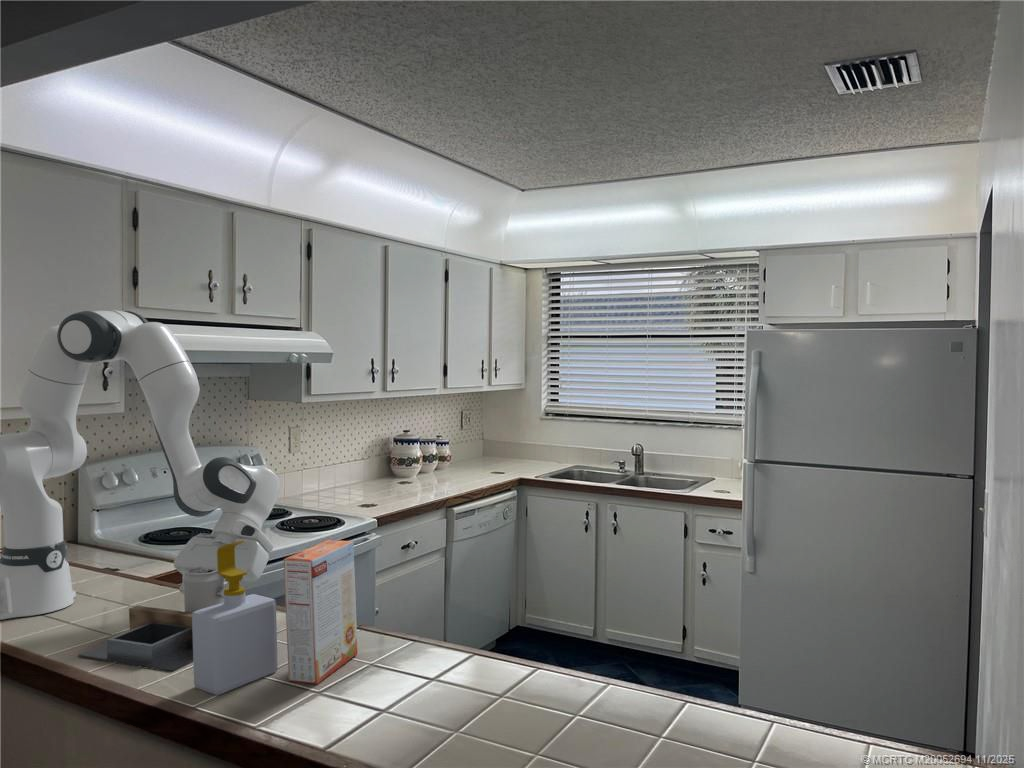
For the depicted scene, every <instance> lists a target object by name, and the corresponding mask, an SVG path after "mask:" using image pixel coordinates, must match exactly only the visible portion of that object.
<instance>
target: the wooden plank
mask: <svg viewBox="0 0 1024 768" xmlns="http://www.w3.org/2000/svg"><path fill="white" fill-rule="evenodd" d="M128 613H129V615H128V620H129V621H128V622H129V631H130V630H132V629H135V628H137V627H140V626H142V625H145V624H147V623H150V622H152V621H154V622H162V623H169V624H177V625H184V626H192V614H193V613H192V612H185V610H183V611H182V610H176V609H175V610H174V609H168V608H167V609H166V608H158V607H152V606H151V607H149V606H142V605H136V606H133V607H130V608H128Z"/></svg>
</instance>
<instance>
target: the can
mask: <svg viewBox="0 0 1024 768" xmlns="http://www.w3.org/2000/svg"><path fill="white" fill-rule="evenodd" d="M201 568H202V567H196V568H192V569H190V570H188V571H187V574H188V575H187V576H186V577H185V578H184V594H183V597H184V600H183V601H184V612H192V613H193V612H195V611H197V610H200V609H203V608H207V607H210V606H214V605H217V604H220V603H224V599H223V598H219V597H218V596H217V595H216V593H217V591H218V589H219V587H223V586H224V585H225V581H224V580H225V579H224V576H221V575H219V573H218V570H216V571H213V572H212V571H209V570H203V569H201Z"/></svg>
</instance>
